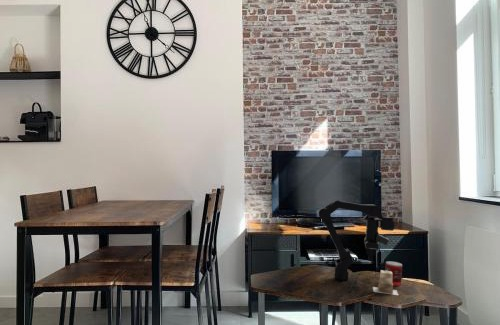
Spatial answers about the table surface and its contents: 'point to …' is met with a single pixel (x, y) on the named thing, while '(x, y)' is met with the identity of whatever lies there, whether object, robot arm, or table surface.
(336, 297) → the table surface
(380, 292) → the build mat
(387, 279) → the oak cube
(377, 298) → the table surface
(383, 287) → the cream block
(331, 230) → the robot arm
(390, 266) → the canned food
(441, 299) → the table surface
